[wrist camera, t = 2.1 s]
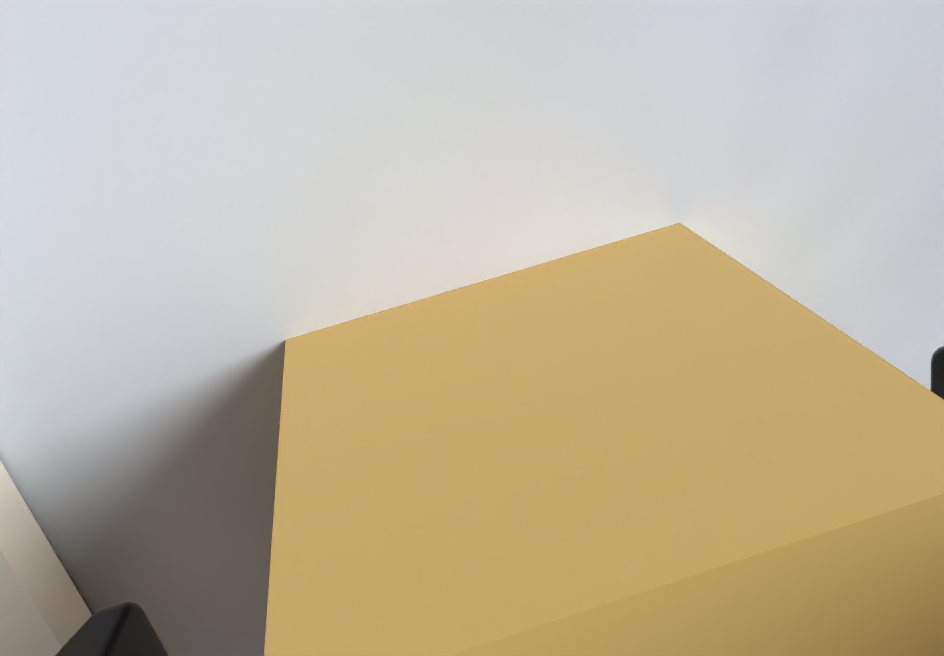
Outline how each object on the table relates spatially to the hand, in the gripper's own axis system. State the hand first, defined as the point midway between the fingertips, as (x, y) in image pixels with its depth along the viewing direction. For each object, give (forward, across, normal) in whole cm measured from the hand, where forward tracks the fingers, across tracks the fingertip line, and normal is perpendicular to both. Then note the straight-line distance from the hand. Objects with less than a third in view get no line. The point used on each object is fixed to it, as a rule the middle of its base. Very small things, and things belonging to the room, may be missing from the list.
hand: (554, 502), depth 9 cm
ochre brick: (+1, 0, 0) cm, 1 cm away
